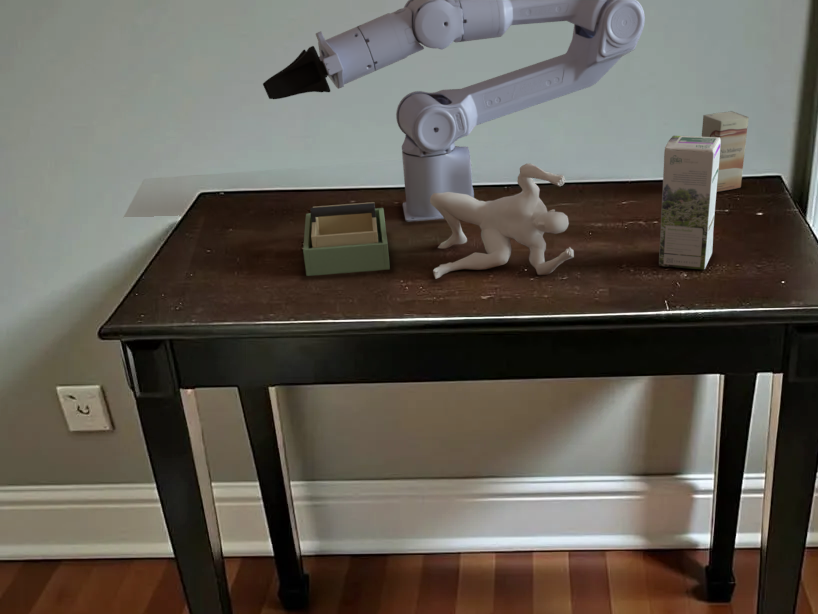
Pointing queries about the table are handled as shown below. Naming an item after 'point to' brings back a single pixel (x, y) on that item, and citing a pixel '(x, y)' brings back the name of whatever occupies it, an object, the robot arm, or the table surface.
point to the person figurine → (504, 224)
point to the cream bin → (343, 225)
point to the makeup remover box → (728, 145)
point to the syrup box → (688, 201)
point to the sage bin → (346, 253)
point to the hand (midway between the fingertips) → (267, 91)
